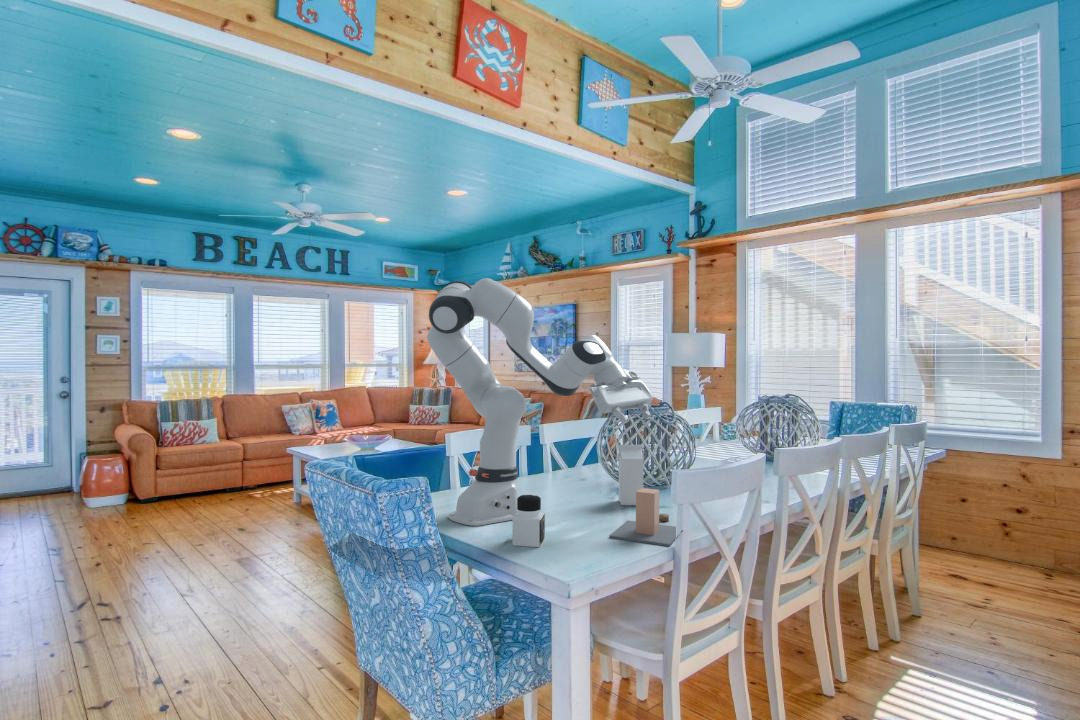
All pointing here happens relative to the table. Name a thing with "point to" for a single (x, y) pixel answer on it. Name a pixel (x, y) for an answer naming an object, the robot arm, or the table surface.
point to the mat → (628, 532)
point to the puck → (663, 517)
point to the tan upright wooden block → (647, 511)
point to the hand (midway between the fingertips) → (637, 419)
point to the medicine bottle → (528, 522)
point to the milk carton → (630, 473)
